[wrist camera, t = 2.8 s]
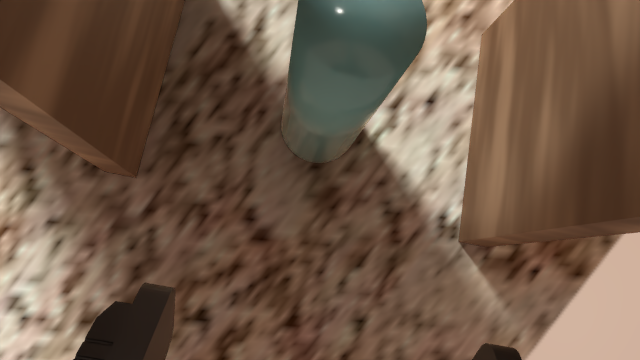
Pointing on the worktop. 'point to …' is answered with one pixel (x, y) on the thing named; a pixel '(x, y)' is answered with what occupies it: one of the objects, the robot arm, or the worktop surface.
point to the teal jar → (345, 69)
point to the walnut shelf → (487, 123)
